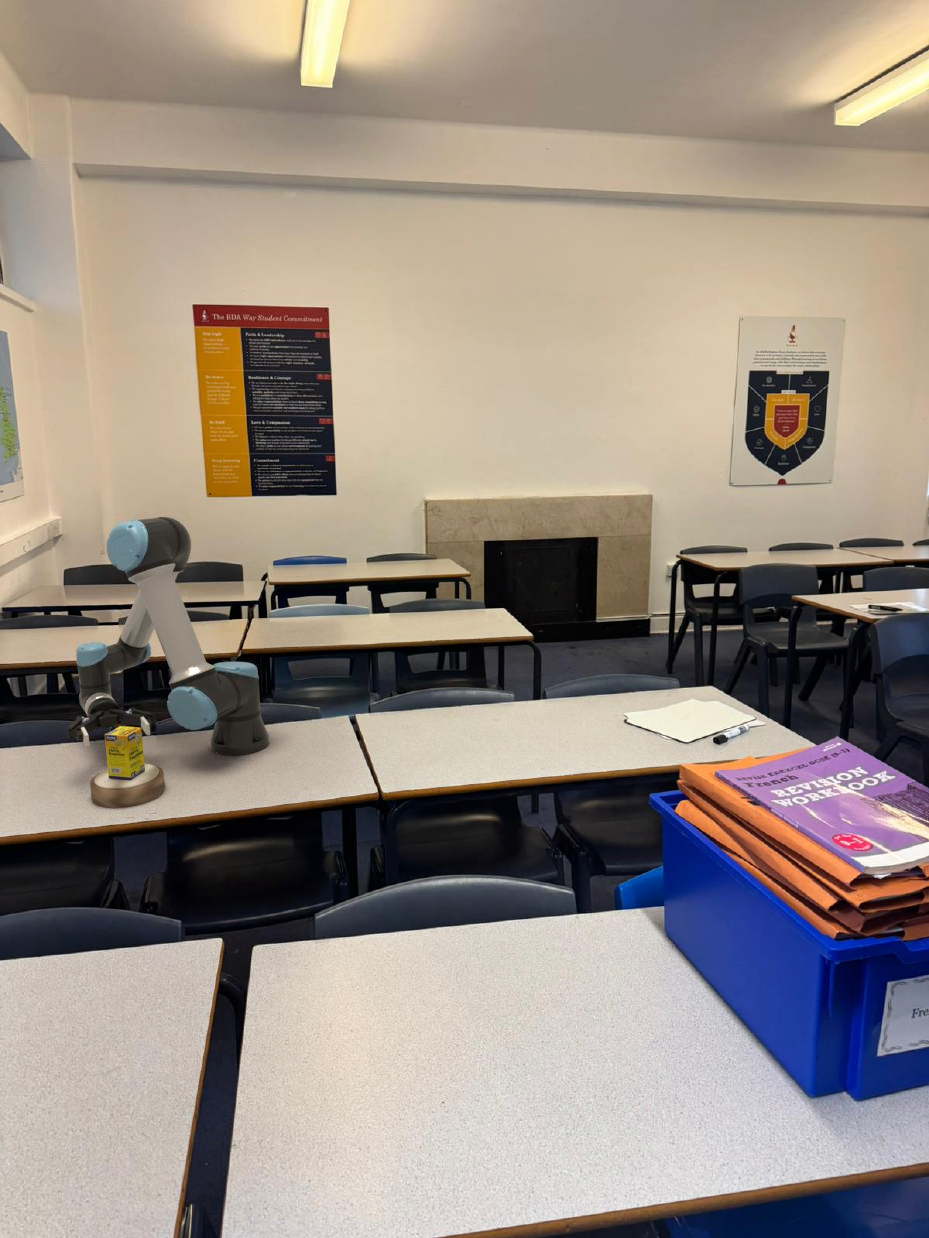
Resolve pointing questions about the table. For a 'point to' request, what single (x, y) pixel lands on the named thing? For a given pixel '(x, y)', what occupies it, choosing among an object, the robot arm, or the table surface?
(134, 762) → the supplement box
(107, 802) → the podium
